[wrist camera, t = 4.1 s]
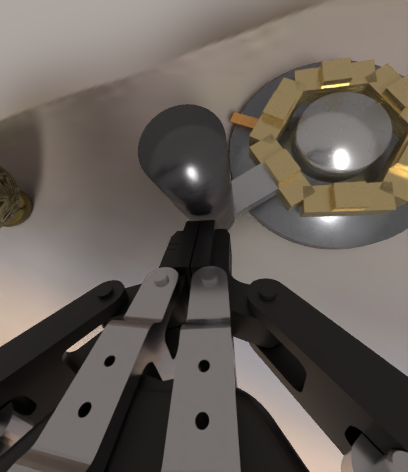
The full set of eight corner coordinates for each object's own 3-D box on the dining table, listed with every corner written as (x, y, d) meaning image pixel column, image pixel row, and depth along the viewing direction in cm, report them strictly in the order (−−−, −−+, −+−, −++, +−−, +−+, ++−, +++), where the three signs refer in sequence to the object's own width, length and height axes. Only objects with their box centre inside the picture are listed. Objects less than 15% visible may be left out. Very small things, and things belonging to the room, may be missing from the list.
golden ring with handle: (236, 297, 15) (226, 326, 6) (161, 164, 18) (84, 59, 9) (466, 168, 14) (831, -9, 5) (347, 49, 17) (458, -192, 8)
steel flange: (297, 287, 16) (309, 289, 13) (198, 135, 19) (190, 110, 17) (492, 179, 15) (552, 155, 12) (350, 40, 19) (371, -4, 16)
